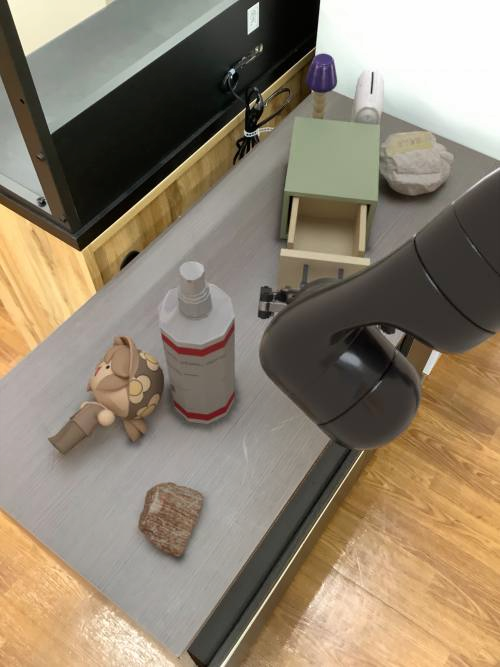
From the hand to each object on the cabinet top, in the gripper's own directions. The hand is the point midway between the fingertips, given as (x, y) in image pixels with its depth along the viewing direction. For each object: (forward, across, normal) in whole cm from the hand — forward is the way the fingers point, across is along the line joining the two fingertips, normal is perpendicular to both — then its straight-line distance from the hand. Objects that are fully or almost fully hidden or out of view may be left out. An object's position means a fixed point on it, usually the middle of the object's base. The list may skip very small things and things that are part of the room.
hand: (324, 299), depth 71 cm
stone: (-8, +14, +26) cm, 30 cm away
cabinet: (+27, 0, -11) cm, 29 cm away
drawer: (+17, 0, -2) cm, 18 cm away
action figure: (0, +24, +18) cm, 29 cm away
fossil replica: (+32, -13, -16) cm, 38 cm away
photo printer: (+37, -4, -21) cm, 43 cm away
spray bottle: (+3, +13, +14) cm, 20 cm away
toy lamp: (+36, +3, -19) cm, 41 cm away
